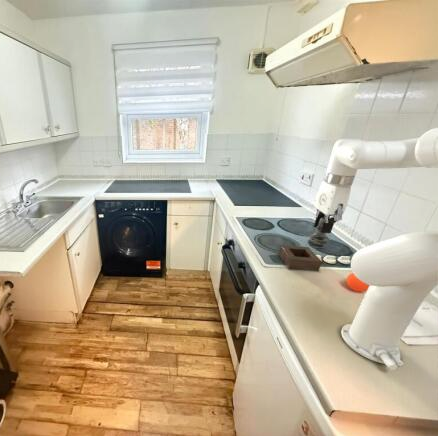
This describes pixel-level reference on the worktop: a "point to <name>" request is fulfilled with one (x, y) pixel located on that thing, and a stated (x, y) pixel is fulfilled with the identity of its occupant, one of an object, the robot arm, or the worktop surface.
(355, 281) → the clementine
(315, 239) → the grey tiered tall piece
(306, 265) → the socket
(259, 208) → the worktop surface
